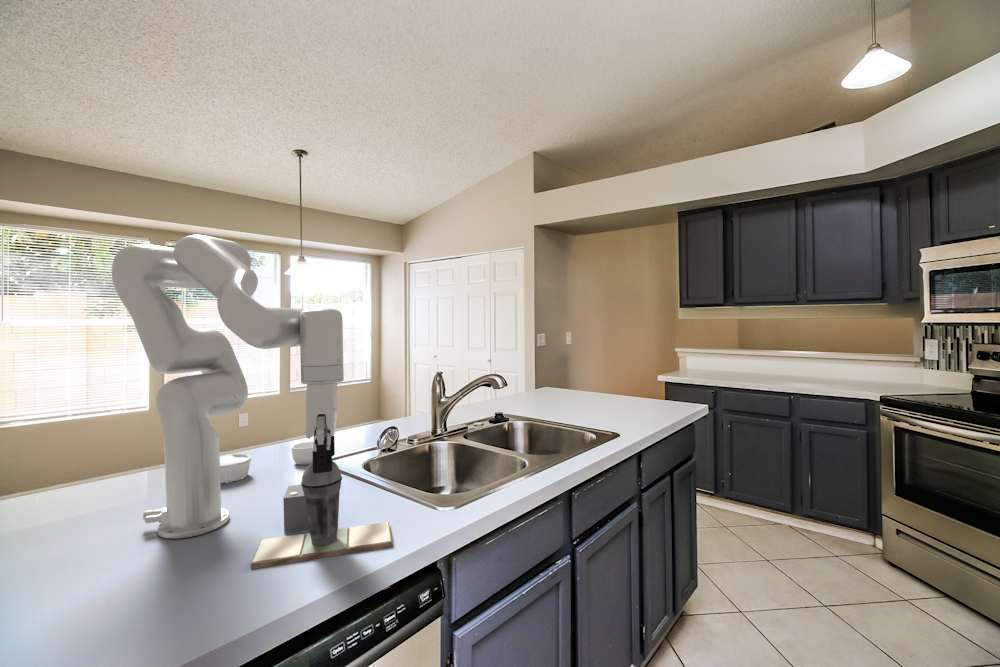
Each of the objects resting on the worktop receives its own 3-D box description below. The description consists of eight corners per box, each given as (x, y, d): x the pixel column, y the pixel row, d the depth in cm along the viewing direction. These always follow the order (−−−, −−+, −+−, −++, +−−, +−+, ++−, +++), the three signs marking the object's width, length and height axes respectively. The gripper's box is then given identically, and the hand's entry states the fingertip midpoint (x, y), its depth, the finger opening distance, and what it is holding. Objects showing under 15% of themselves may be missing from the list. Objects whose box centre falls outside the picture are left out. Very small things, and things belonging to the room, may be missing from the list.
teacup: (294, 468, 131) (294, 450, 131) (289, 461, 137) (289, 444, 137) (330, 462, 137) (329, 444, 137) (323, 456, 143) (323, 439, 143)
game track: (250, 568, 78) (250, 563, 78) (261, 544, 87) (261, 539, 87) (392, 546, 86) (392, 541, 86) (389, 525, 94) (388, 521, 94)
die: (284, 532, 92) (283, 497, 92) (289, 517, 98) (288, 485, 98) (321, 527, 94) (320, 493, 94) (323, 513, 101) (322, 481, 100)
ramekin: (260, 473, 128) (260, 454, 127) (228, 487, 117) (227, 467, 117) (228, 470, 130) (227, 452, 130) (193, 484, 119) (192, 464, 119)
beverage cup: (349, 530, 90) (345, 431, 89) (337, 549, 83) (332, 441, 82) (312, 531, 90) (308, 432, 89) (297, 550, 82) (292, 442, 82)
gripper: (305, 370, 92) (307, 452, 93) (294, 381, 76) (297, 481, 76) (344, 368, 95) (346, 449, 95) (342, 378, 78) (344, 476, 79)
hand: (324, 463), depth 86 cm, fingers open, 9 cm apart
